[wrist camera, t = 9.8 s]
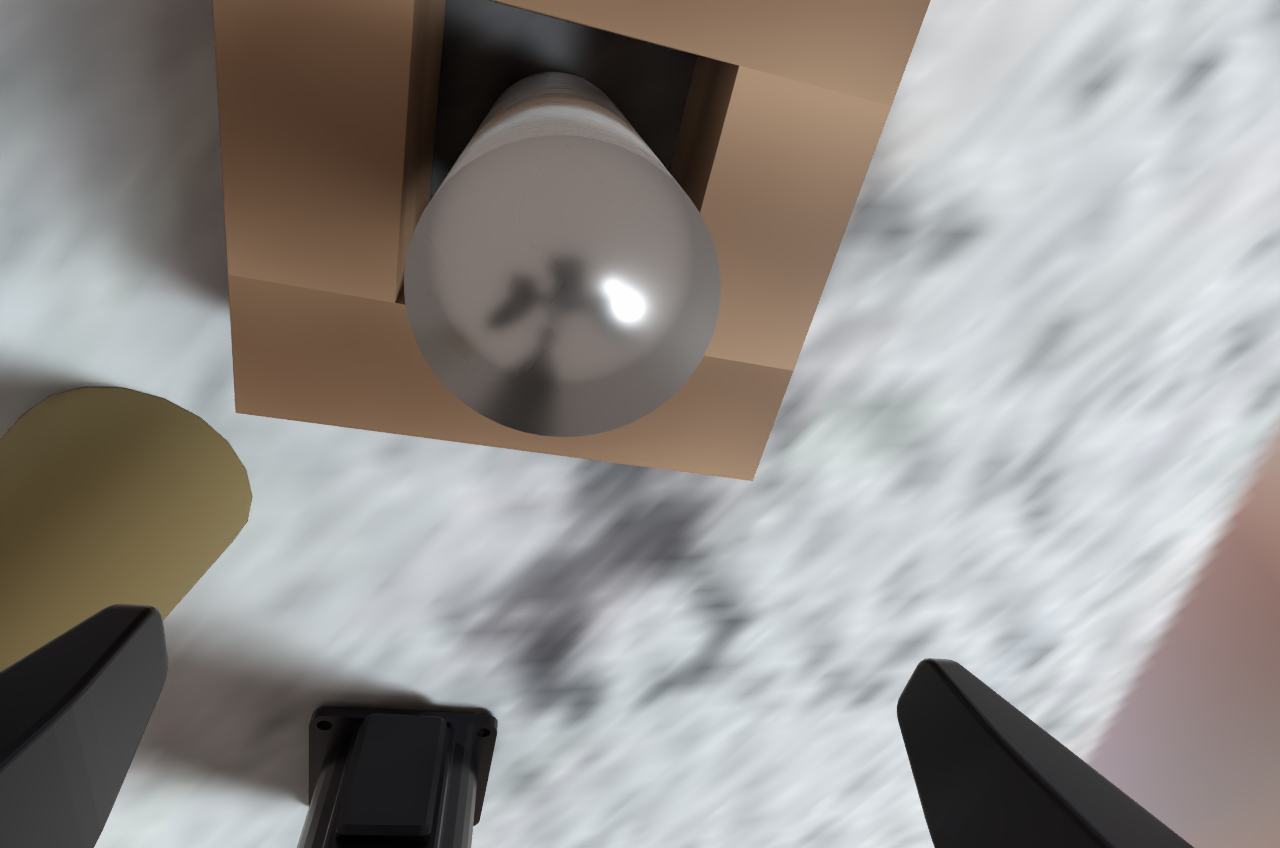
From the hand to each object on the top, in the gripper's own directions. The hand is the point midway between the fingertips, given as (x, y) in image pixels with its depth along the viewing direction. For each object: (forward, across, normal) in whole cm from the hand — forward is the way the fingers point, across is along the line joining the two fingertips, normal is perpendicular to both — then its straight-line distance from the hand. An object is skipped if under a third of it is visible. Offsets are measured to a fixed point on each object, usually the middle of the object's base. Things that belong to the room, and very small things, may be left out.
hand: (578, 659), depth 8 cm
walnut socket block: (+12, +1, -4) cm, 12 cm away
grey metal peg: (+12, +1, -4) cm, 12 cm away
